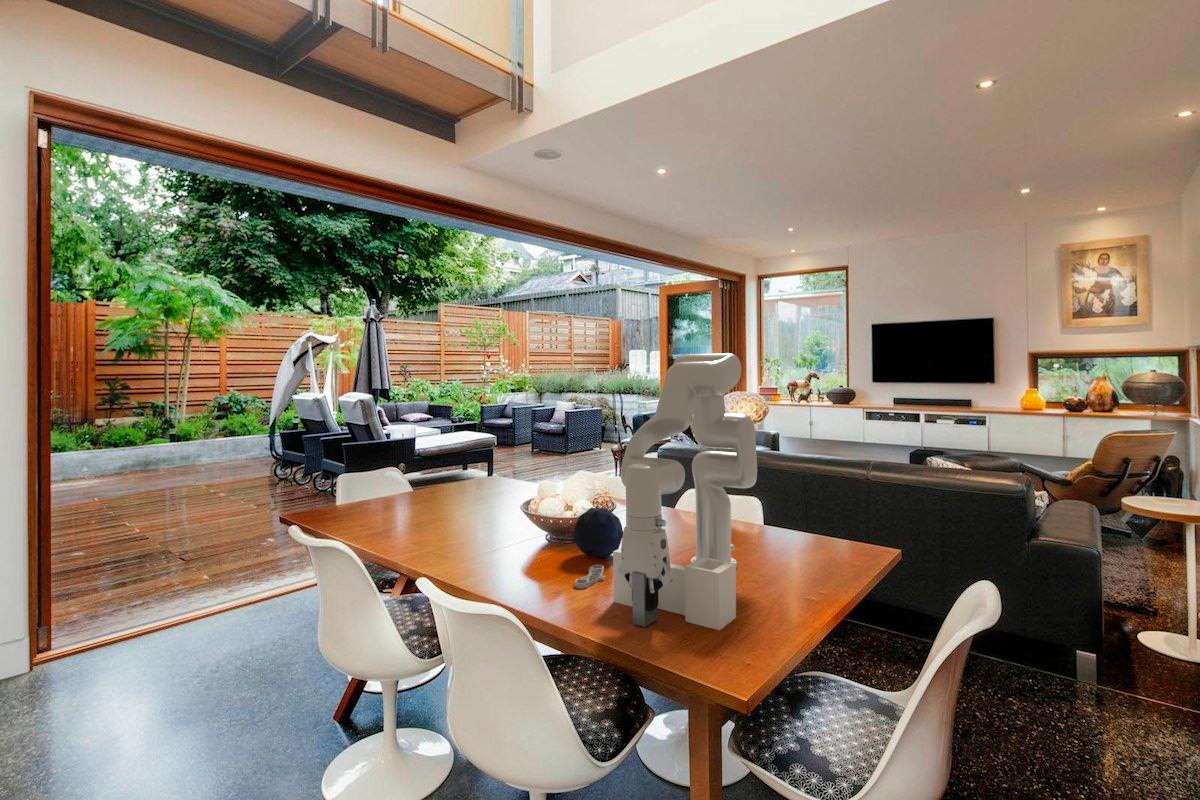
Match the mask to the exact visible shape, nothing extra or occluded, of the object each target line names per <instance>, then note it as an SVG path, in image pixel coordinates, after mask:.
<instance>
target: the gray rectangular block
mask: <svg viewBox="0 0 1200 800" xmlns="http://www.w3.org/2000/svg"><path fill="white" fill-rule="evenodd" d="M648 592H649V584H648V578H646V577H645V575H644V574H640V573H635V572H632V599H633V607H632V624H633V625H636V626H639V627H643V628H646V627H647V626H649V625H650V624H652V623H653V622H655V621H656V620H658V608H656V609H654V610H652V611H651V612H650V611H648V610H647V593H648Z"/></svg>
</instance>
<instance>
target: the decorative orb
mask: <svg viewBox="0 0 1200 800" xmlns="http://www.w3.org/2000/svg"><path fill="white" fill-rule="evenodd" d="M623 531H624V528H623V525H622V523H621V520H620V517H618V516H617V515H615V514H614V513H613V512H612V511H611V510H609V509H608V508H605V507H591V508H589V509H587V510H586V511H585V512H583V513H582V514H580V515H579V516H578V517H577V520H576V521H575V525H574V528H573V542H574V543H575V544H576V547H577V548H578V549H579V550H580V551H581V552H582V553H583V554H584V555H585V556H587V558H588V557H589V558H591V559H592V558H593V559H607V558H608V557H610V556H611V555H613V551H615V550H618V549H620V545H621V544H622V537H623Z"/></svg>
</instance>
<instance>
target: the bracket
mask: <svg viewBox="0 0 1200 800" xmlns="http://www.w3.org/2000/svg"><path fill="white" fill-rule="evenodd" d="M604 572H605V567H604V565H602V564H594V565H591V566H590V567H588V574H587V575H586V576H582V577H581V578H576V579H575V580H574V587H575V588H576V589H587V588H589V587H590V586H592V585H594V584H595V583H598V582H599V581H601V582H602V581H605V580H606V575H603V574H604Z"/></svg>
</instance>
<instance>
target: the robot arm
mask: <svg viewBox="0 0 1200 800" xmlns="http://www.w3.org/2000/svg"><path fill="white" fill-rule="evenodd" d="M741 364H742V363H741V361H740V359H739V357H738V356H737V355H736V354H734V353H730V352H725V353H721V352H720V353H717V352H716V353H690V354H683V355H680V356H678V357H677V358H675V359H674V361H673V364H672V365H671V366H669V368H668V369H667V371H666V374H665V377H664V380H663V384H662V388H661V392H660V396H659V400H658V404H657V406H656V410H655V413H654V415H653V416H652V417H651V418H649V419H648V420H647V421H646V422H644V423H643V424H642V425H641V426H640V427H639V428H638V429H637V431H635V432H634V433H633V434H632V436H631V438H630V439H629V440H628V443H627V446H626V448H625V452H624V455H623V458H622V462H621V468H620V480H621V483H622V484H623V486H624V487H625V526H624V527H623V537H622V540H621V544H620V545H621V547H620V548H621V564H620V566H619V569H618V571H619V572H620V573H621V574H622V575H623V576H625V578H626V580H627V581H628V583H629V587H630V588H632V572H635V573H640V574H644V575H645V577H646V578H648V584H649V592H648V593H647V610H648V611H650V612H651V611H652V610H654V609H656V608H657V607H658V590H660V589H661V587H662V586H664V585H666V584H669V583H671V582H672V581H673V579H672V577H671V575H670V563H671V556H670V555H671V554H670V545H669V539H668V535H667V532H666V528H663V527H666V526H667V520H666V519H663V514H662V496H663V495H669V494H673V493H677V492H678V491H679V490H680V489H681V488H682V487H683V485H684V484H685V479H686V471H685V468H684V466H683V465H682V463H681V462H679V461H677V460H675V459H673V458H672V459H669V458H658V457H647V456H646V457H644V456H645V454H646V452H648V450H649V449H650V448H651V447H652V446H653V445H655V444H657V443H659V442H661V441H663V440H665V439H668V438H670V437H672V436H675V435H678V434H680V433H682V432H684V431H686V430H687V429H689V427H690V425H691V423H692V418H693V428H694V437H695V440H696V443H697V444H698V445H699V446H700V447H703V448H709V449H711V448H712V449H724V450H725V449H728V450H734V451H735V452H733V451H731V452H730V451H720V450H717V451H716V450H707V451H705V450H704V451H701V452H699V453H697V454H696V455H695V456H694V457H693V459H692V462H691V472H692V478H693V483H694V489H695V490H694V492H695V556H692V558H690V563H692V562H694V561H696V560H698V559H699V558H701V557H706V558H711V559H716V560H722V561H727V562H732V563H736V567H737V566H738V564H737V563H738V562H737V560H736V559H735V558H733V557H732V552H735V549H736V546H735V544H732V503H731V499H730V497H729V495H728V494H727V492H726V490H725V489H724V488H732V489H733V488H735V489H749V488H752V487H753V486H755V485H756V482H757V479H758V458H757V455H758V454H757V442H756V441H757V440H756V439H757V438H756V429H755V424H754V422H753V420H752V418H751V416H749V415H748V414H745V413H734V412H733V413H731V412H730V413H728V412H727V411H726V406H725V394H726V393H728V392H729V391H730V390H732V389H733V388H734V387H735V386H736V385H737V384H738V383H739V380H740V378H741V374H742V365H741ZM661 574H662V576H663V579H661V580H660V577H661ZM632 601H633V599H632ZM657 609H658V608H657Z"/></svg>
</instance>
